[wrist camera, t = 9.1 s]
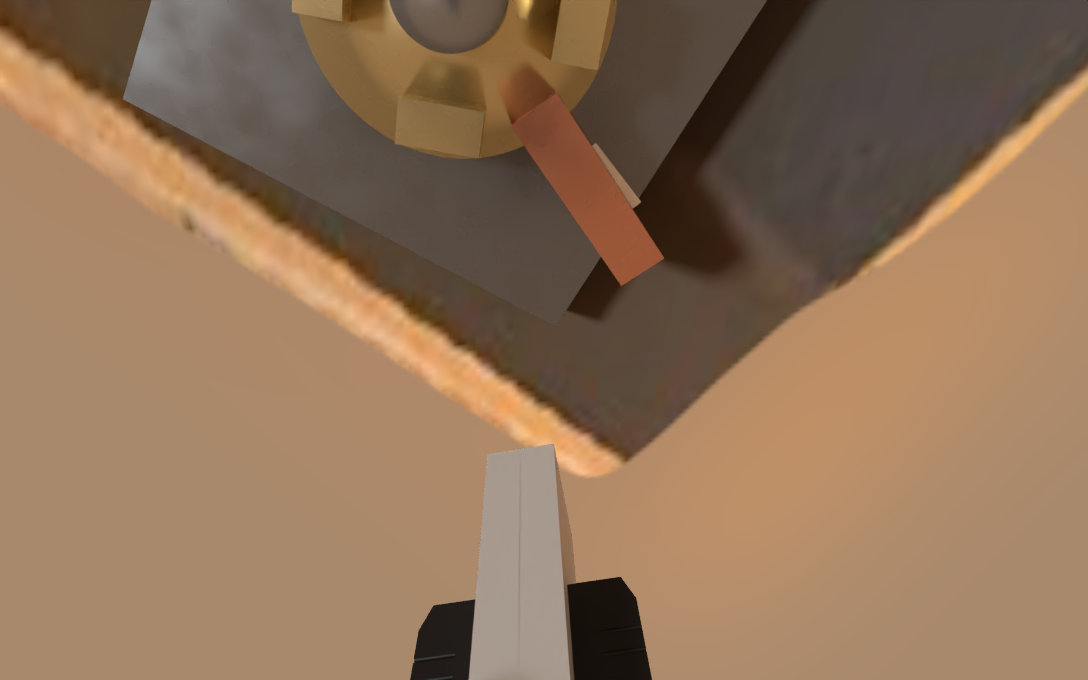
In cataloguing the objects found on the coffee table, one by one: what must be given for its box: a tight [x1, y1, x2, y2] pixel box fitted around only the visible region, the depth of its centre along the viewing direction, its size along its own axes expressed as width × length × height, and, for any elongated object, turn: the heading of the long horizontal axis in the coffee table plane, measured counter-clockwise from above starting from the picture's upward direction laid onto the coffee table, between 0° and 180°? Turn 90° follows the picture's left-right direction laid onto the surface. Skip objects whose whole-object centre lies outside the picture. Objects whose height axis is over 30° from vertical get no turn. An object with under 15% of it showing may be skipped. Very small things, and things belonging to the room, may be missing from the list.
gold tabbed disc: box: [292, 0, 664, 286], centre depth 24 cm, size 18×11×4 cm, turn 35°
